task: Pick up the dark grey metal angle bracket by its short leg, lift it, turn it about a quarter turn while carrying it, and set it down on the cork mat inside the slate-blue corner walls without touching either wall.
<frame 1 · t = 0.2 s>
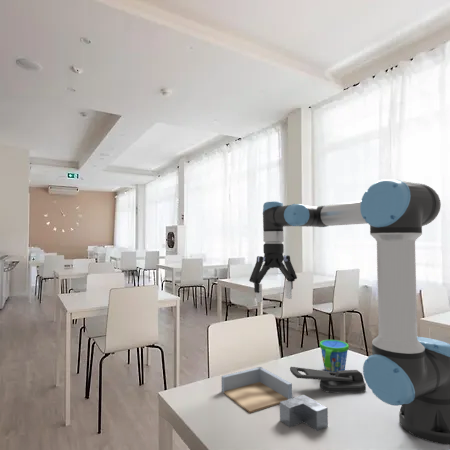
hand: (274, 300, 126), 28 cm above the table, tool pointing down, fingers open, 13 cm apart
cork mat: (255, 396, 108), on the table
corner walls: (255, 396, 108), resting in cork mat
angle bracket: (310, 421, 93), on the table
zipper pull: (327, 389, 114), on the table
snack cup: (334, 370, 130), on the table
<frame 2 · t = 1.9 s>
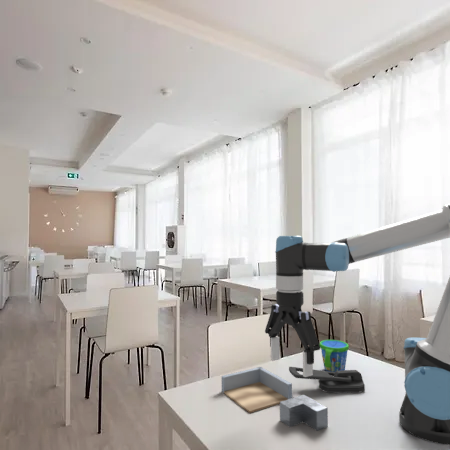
hand: (290, 367, 94), 15 cm above the table, tool pointing down, fingers open, 13 cm apart
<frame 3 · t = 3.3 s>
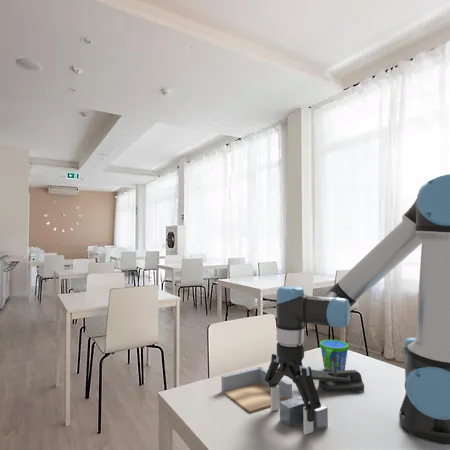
hand: (290, 420, 94), 0 cm above the table, tool pointing down, fingers open, 13 cm apart
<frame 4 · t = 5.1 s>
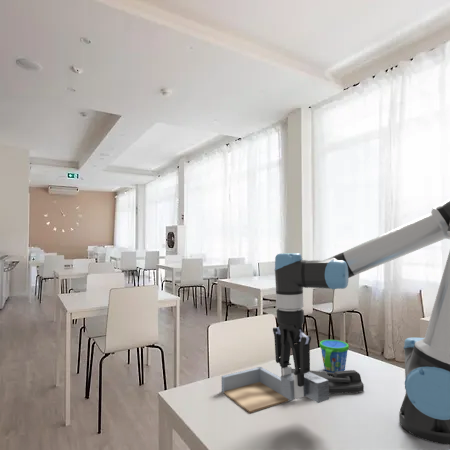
hand: (293, 393, 93), 7 cm above the table, tool pointing down, fingers closed on angle bracket, 4 cm apart
angle bracket: (311, 394, 93), point 7 cm above the table, touching gripper
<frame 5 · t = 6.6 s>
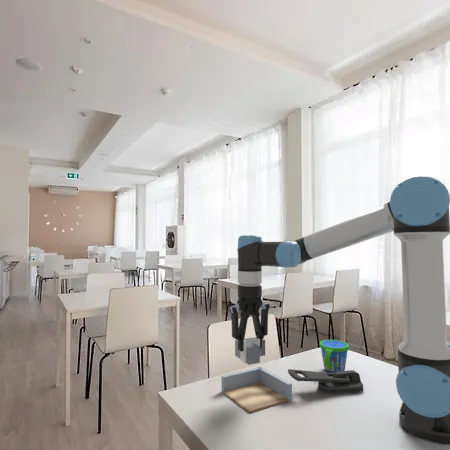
hand: (250, 360, 105), 13 cm above the table, tool pointing down, fingers closed on angle bracket, 4 cm apart
angle bracket: (250, 355, 110), point 12 cm above the table, touching gripper
when the fingers open (1 cm above the table, at t = 8.2 s): angle bracket stays where it is, resting on cork mat.
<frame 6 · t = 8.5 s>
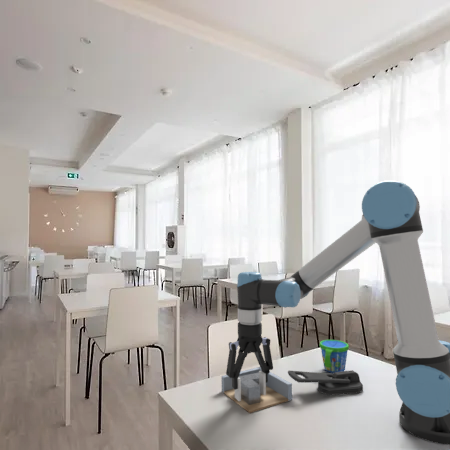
hand: (250, 396, 105), 2 cm above the table, tool pointing down, fingers open, 8 cm apart
angle bracket: (250, 392, 110), point 1 cm above the table, touching cork mat
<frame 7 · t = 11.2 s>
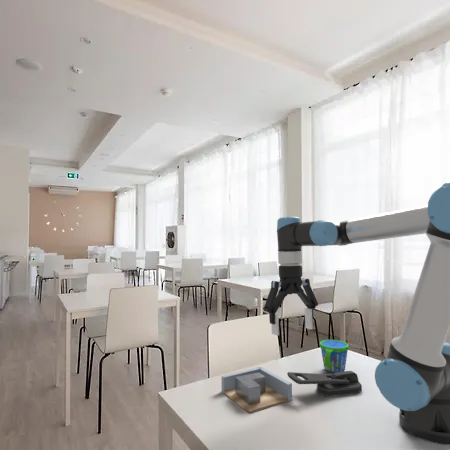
hand: (292, 331, 108), 21 cm above the table, tool pointing down, fingers open, 13 cm apart
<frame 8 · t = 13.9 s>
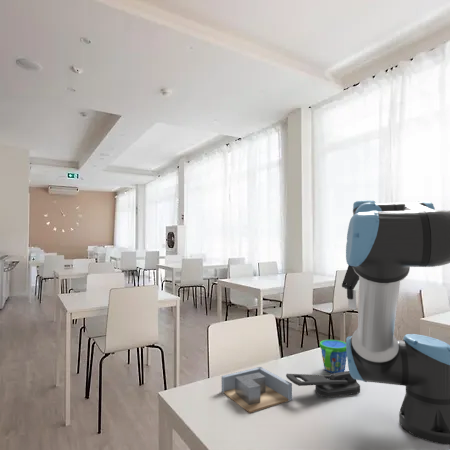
hand: (367, 307, 116), 27 cm above the table, tool pointing down, fingers open, 13 cm apart
at the end: angle bracket inside the target area (1.7 cm from its centre), point 0.6 cm above the table; angle bracket touching cork mat; the gripper is holding nothing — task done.
